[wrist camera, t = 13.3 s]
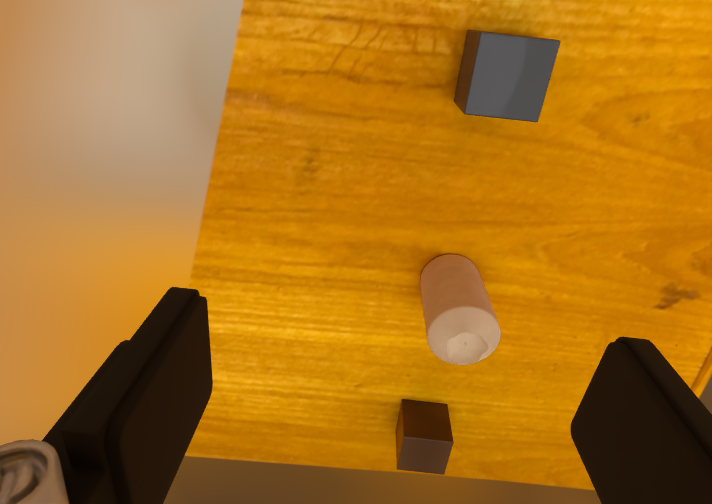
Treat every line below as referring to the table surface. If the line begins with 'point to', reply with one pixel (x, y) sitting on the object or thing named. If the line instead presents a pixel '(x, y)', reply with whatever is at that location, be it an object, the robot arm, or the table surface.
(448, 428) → the far block
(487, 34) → the near block
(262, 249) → the table surface
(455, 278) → the candle
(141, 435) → the robot arm
